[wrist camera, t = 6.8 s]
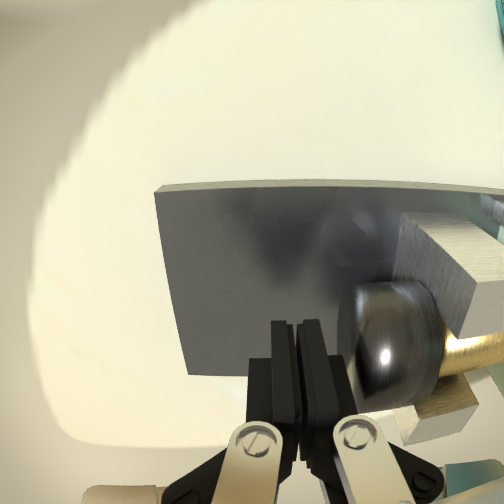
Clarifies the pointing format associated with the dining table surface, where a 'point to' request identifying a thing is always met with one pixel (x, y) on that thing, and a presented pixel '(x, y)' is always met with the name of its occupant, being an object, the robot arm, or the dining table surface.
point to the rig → (329, 268)
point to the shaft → (402, 345)
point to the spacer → (500, 371)
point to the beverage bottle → (500, 13)
